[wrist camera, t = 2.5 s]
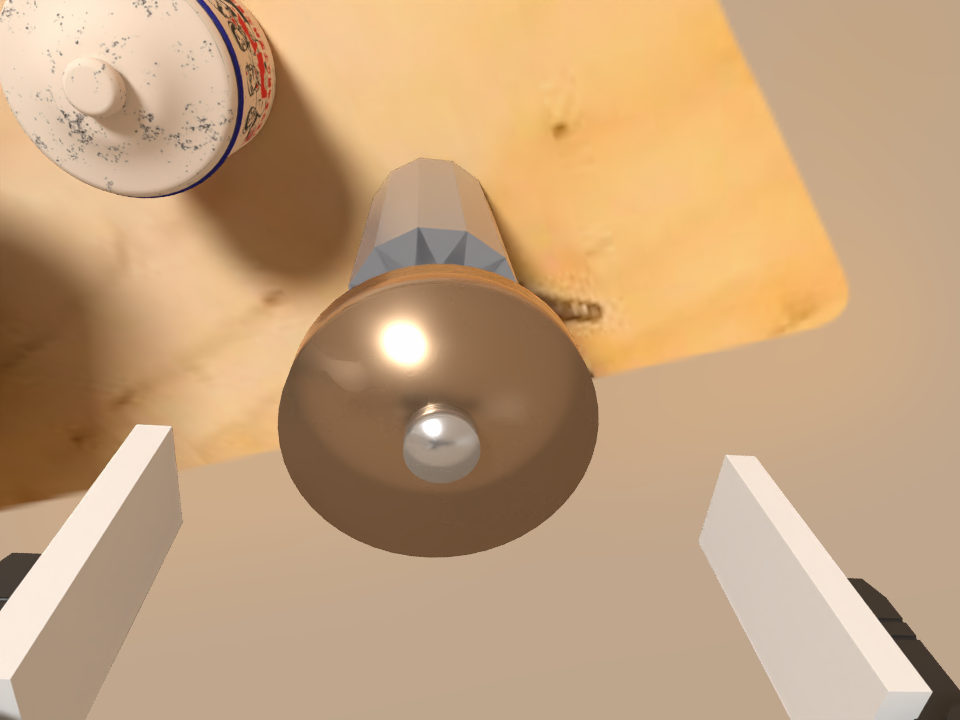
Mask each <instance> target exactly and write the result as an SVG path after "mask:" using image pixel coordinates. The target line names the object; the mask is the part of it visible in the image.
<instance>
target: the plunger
mask: <svg viewBox="0 0 960 720" xmlns="http://www.w3.org/2000/svg"><path fill="white" fill-rule="evenodd" d="M597 432H598V404H597V398H596V393H595V388H594V385H593V382H592V379H591V376H590V373H589V371H588V369H587V367H586V365H585V362H584V360H583V358H582V356H581V354H580V352H579V350H578V348H577V346H576V344H575V342H574V340H573V338H572V336H571V334H570V332H569V330H568V329H567V328H566V326H565V325H564V323H563V322H562V321H561V319H560V318H559V316H558V315H557V314H556V313H555V312H554V311H553V310H552V309H551V308H550V307H549V306H548V305H547V304H546V303H545V302H544V301H543V300H541V299H540V298H539V297H538V296H536V295H535V294H534V293H532V292H531V291H530V290H528V289H526V288H525V287H523V286H521V285H520V284H518V283H516V282H514V281H513V280H510V279H508V278H506V277H503V276H501V275H498V274H496V273H493V272H490V271H486V270H483V269H479V268H475V267H469V266H462V265H455V264H425V265H417V266H409V267H405V268H401V269H396V270H392V271H389V272H386V273H383V274H381V275H378V276H376V277H373V278H370V279H368V280H366V281H365V282H363V283H361V284H359V285H357V286H355V287H353V288H352V289H350V290H349V291H347V292H346V293H345V294H343V295H342V296H341V297H339V298H338V299H336V300H335V301H334V302H333V303H332V304H331V305H330V306H329V307H328V308H327V309H326V310H325V311H324V312H323V313H322V314H321V315H320V316H319V317H318V318H317V320H316V321H315V322H314V324H313V325H312V326H311V327H310V329H309V330H308V332H307V334H306V335H305V337H304V339H303V341H302V343H301V344H300V346H299V349H298V352H297V354H296V357H295V359H294V362H293V365H292V367H291V370H290V373H289V375H288V378H287V380H286V383H285V386H284V388H283V391H282V396H281V401H280V405H279V414H278V433H279V443H280V448H281V452H282V455H283V459H284V463H285V465H286V467H287V469H288V472H289V474H290V476H291V479H292V480H293V482H294V484H295V485H296V487H297V488H298V490H299V492H300V493H301V495H302V496H303V497H304V498H305V500H306V501H307V502H308V503H309V504H310V506H311V507H312V508H313V509H314V510H315V511H316V512H317V513H318V514H319V515H321V516H322V517H323V518H324V519H325V520H326V521H327V522H329V523H330V524H332V525H333V526H334V527H336V528H337V529H338V530H340V531H341V532H343V533H345V534H347V535H349V536H350V537H352V538H354V539H356V540H358V541H360V542H363V543H365V544H368V545H370V546H372V547H375V548H378V549H382V550H385V551H389V552H392V553H398V554H403V555H409V556H418V557H453V556H461V555H468V554H473V553H477V552H481V551H486V550H489V549H492V548H494V547H498V546H501V545H503V544H506V543H508V542H510V541H512V540H514V539H517V538H519V537H521V536H523V535H524V534H526V533H528V532H529V531H531V530H533V529H534V528H536V527H537V526H539V525H540V524H541V523H543V522H544V521H545V520H547V519H548V518H549V517H550V516H552V515H553V514H554V513H555V512H556V511H557V510H558V509H559V508H560V507H561V506H562V505H563V504H564V503H565V502H566V500H567V499H568V498H569V496H570V495H571V494H572V493H573V492H574V491H575V489H576V487H577V486H578V484H579V483H580V481H581V479H582V478H583V476H584V474H585V472H586V470H587V468H588V465H589V463H590V461H591V458H592V455H593V451H594V448H595V444H596V439H597Z"/></svg>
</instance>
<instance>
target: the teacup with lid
mask: <svg viewBox="0 0 960 720" xmlns="http://www.w3.org/2000/svg"><path fill="white" fill-rule="evenodd" d="M0 82H1V86H2V89H3V92H4V94H5V97H6V100H7V102H8V104H9V106H10V108H11V111H12V112H13V114H14V116H15V118H16V119H17V121H18V123H19V124H20V126H21V127H22V129H23V130H24V132H25V133H26V134H27V135H28V137H29V138H30V139H31V141H32V142H33V143H34V144H35V145H36V146H37V147H38V148H39V149H40V151H41V152H42V153H43V154H45V155H46V156H47V157H48V158H49V159H50V160H51V161H52V162H54V163H55V164H56V165H57V166H59V167H60V168H61V169H63V170H64V171H66V172H67V173H68V174H70V175H71V176H73V177H75V178H77V179H78V180H80V181H82V182H84V183H86V184H88V185H91V186H93V187H95V188H98V189H101V190H103V191H107V192H110V193H114V194H118V195H122V196H128V197H136V198H158V197H165V196H171V195H175V194H178V193H181V192H184V191H186V190H189V189H191V188H193V187H195V186H197V185H198V184H200V183H202V182H203V181H205V180H206V179H207V178H209V177H210V176H211V175H212V174H213V173H214V172H215V171H217V170H218V168H219V167H220V166H221V165H222V164H223V163H224V161H225V160H226V158H227V157H229V156H230V155H231V154H233V153H234V152H236V151H237V150H239V149H240V148H242V147H243V146H244V145H246V144H247V143H249V142H250V141H251V140H252V139H253V138H254V137H255V136H256V135H257V134H258V132H259V131H260V130H261V128H262V127H263V126H264V124H265V122H266V120H267V118H268V116H269V114H270V111H271V108H272V105H273V101H274V96H275V88H276V74H275V66H274V60H273V56H272V53H271V49H270V46H269V44H268V41H267V39H266V37H265V35H264V32H263V30H262V29H261V27H260V25H259V24H258V22H257V21H256V19H255V18H254V16H253V15H252V14H251V12H250V11H249V10H248V9H247V8H246V7H245V6H244V5H243V4H242V3H241V2H240V1H239V0H6V2H5V3H4V6H3V9H2V11H1V14H0Z"/></svg>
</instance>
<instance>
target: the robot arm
mask: <svg viewBox="0 0 960 720" xmlns="http://www.w3.org/2000/svg"><path fill="white" fill-rule="evenodd" d="M182 523H183V522H182V512H181V503H180V494H179V485H178V476H177V466H176V457H175V448H174V439H173V430H172V426H160V425H141V424H137V425H136V426H135V427H134V429H133V430H132V431H131V433H130V434H129V436H128V437H127V438H126V440H125V441H124V442H123V444H122V445H121V446H120V448H119V449H118V451H117V452H116V453H115V455H114V456H113V457H112V459H111V460H110V462H109V463H108V464H107V466H106V467H105V468H104V470H103V471H102V472H101V474H100V475H99V477H98V478H97V479H96V481H95V482H94V483H93V485H92V486H91V488H90V489H89V490H88V492H87V493H86V494H85V496H84V497H83V498H82V500H81V501H80V503H79V504H78V505H77V507H76V508H75V509H74V511H73V512H72V514H71V515H70V516H69V518H68V519H67V520H66V522H65V523H64V525H63V526H62V527H61V529H60V530H59V531H58V533H57V534H56V536H55V537H54V538H53V539H52V541H51V542H50V544H49V545H48V547H47V548H46V549H45V550H44V552H43V553H42V554H31V553H30V554H29V553H11V554H10V555H9V556H7V557H6V558H4V559H3V560H1V561H0V720H85V719H86V717H87V714H88V713H89V711H90V709H91V707H92V704H93V702H94V700H95V698H96V696H97V694H98V692H99V690H100V688H101V686H102V684H103V682H104V680H105V678H106V676H107V674H108V672H109V670H110V668H111V666H112V664H113V662H114V660H115V658H116V656H117V654H118V652H119V650H120V648H121V646H122V644H123V642H124V639H125V638H126V636H127V634H128V632H129V630H130V627H131V626H132V624H133V621H134V620H135V618H136V616H137V614H138V612H139V610H140V608H141V605H142V603H143V601H144V599H145V597H146V595H147V593H148V591H149V589H150V587H151V585H152V583H153V581H154V579H155V577H156V575H157V573H158V571H159V569H160V567H161V565H162V563H163V561H164V559H165V557H166V555H167V553H168V551H169V549H170V547H171V545H172V543H173V541H174V539H175V537H176V535H177V533H178V530H179V529H180V527H181V525H182ZM698 542H699V544H700V546H701V548H702V550H703V552H704V554H705V556H706V558H707V559H708V561H709V563H710V565H711V567H712V569H713V571H714V573H715V575H716V577H717V579H718V581H719V582H720V585H721V587H722V588H723V590H724V592H725V594H726V596H727V598H728V600H729V602H730V604H731V606H732V607H733V610H734V612H735V613H736V615H737V617H738V619H739V621H740V623H741V625H742V627H743V629H744V631H745V633H746V635H747V637H748V638H749V640H750V642H751V644H752V646H753V648H754V650H755V652H756V654H757V656H758V658H759V660H760V662H761V663H762V665H763V667H764V669H765V671H766V673H767V675H768V677H769V679H770V681H771V683H772V685H773V687H774V689H775V690H776V692H777V694H778V696H779V698H780V700H781V702H782V704H783V706H784V708H785V710H786V711H787V713H788V715H789V717H790V719H791V720H960V690H959V689H958V688H957V686H956V685H955V684H954V682H953V681H952V680H951V679H950V677H949V676H948V675H947V674H946V672H945V671H944V670H943V669H942V667H941V666H940V665H939V664H938V663H937V661H936V660H935V659H934V657H933V656H932V655H931V654H930V652H929V651H928V650H927V649H926V647H925V646H924V645H923V644H922V642H921V641H920V640H917V639H916V635H915V634H914V632H913V631H912V630H911V629H910V627H909V626H908V625H907V624H906V623H903V621H902V617H901V616H900V615H899V613H898V612H897V611H896V610H895V608H894V607H893V606H892V605H891V603H890V602H889V601H888V600H887V598H886V597H885V596H883V595H882V594H881V593H879V592H878V591H877V590H876V589H874V588H873V587H872V586H871V585H869V584H868V583H867V582H865V581H864V580H863V579H853V578H846V576H845V575H844V574H843V572H842V571H841V570H840V569H839V567H838V566H837V565H836V563H835V562H834V561H833V559H832V558H831V557H830V555H829V554H828V553H827V551H826V550H825V549H824V547H823V546H822V545H821V543H820V542H819V541H818V539H817V538H816V537H815V535H814V534H813V533H812V531H811V530H810V529H809V527H808V526H807V525H806V523H805V522H804V521H803V519H802V518H801V517H800V515H799V514H798V513H797V511H796V510H795V509H794V507H793V506H792V505H791V504H790V502H789V501H788V500H787V498H786V497H785V496H784V495H783V493H782V492H781V490H780V489H779V488H778V486H777V485H776V484H775V482H774V481H773V480H772V478H771V477H770V476H769V474H768V473H767V472H766V470H765V469H764V468H763V466H762V465H761V464H760V462H759V461H758V460H757V459H756V457H755V456H737V455H736V456H735V455H725V458H724V462H723V465H722V468H721V471H720V474H719V477H718V481H717V484H716V487H715V490H714V494H713V497H712V500H711V503H710V506H709V509H708V513H707V516H706V519H705V522H704V525H703V528H702V532H701V535H700V538H699V541H698Z"/></svg>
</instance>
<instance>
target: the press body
mask: <svg viewBox="0 0 960 720" xmlns="http://www.w3.org/2000/svg"><path fill="white" fill-rule="evenodd" d="M425 264H455V265H462V266H469V267H475V268H479V269H483V270H486V271H490V272H493V273H496V274H498V275H501V276H503V277H506V278H508V279H510V280H513V281H514V282H516V283H518V281H517V278H516V275H515V273H514V270H513V267H512V264H511V262H510V259H509V256H508V254H507V251H506V248H505V245H504V243H503V240H502V237H501V235H500V232H499V229H498V226H497V224H496V221H495V218H494V215H493V213H492V210H491V208H490V206H489V203H488V201H487V199H486V197H485V194H484V192H483V190H482V187H481V185H480V183H479V180H478V179H476V178H475V177H473V176H472V175H471V174H469V173H468V172H466V171H465V170H464V169H462V168H461V167H460V166H458V165H457V164H455V163H454V162H453V161H445V160H435V159H424V158H419V159H417V160H415V161H413V162H411V163H408V164H406V165H404V166H402V167H400V168H398V169H396V170H394V171H392V172H390V174H389V175H388V177H387V178H386V180H385V181H384V183H383V185H382V186H381V188H380V189H379V191H378V192H377V194H376V195H375V197H374V198H373V201H372V205H371V208H370V212H369V215H368V219H367V223H366V226H365V230H364V233H363V237H362V240H361V244H360V247H359V251H358V254H357V258H356V262H355V265H354V269H353V272H352V276H351V279H350V283H349V290H350V289H352V288H353V287H355V286H357V285H359V284H361V283H363V282H365V281H366V280H368V279H370V278H373V277H376V276H378V275H381V274H383V273H386V272H389V271H392V270H396V269H401V268H405V267H409V266H417V265H425Z"/></svg>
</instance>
